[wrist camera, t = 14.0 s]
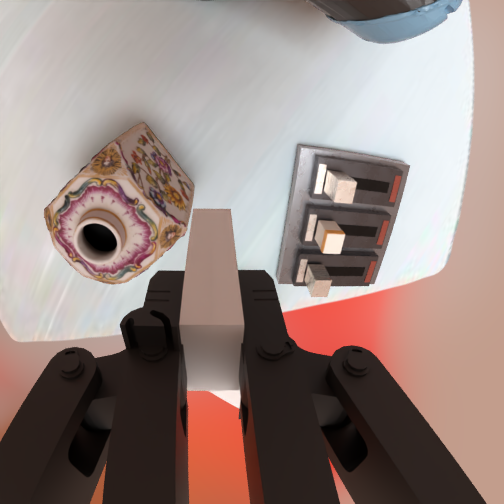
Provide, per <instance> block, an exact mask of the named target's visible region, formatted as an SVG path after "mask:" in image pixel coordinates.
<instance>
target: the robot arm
mask: <svg viewBox="0 0 504 504" xmlns="http://www.w3.org/2000/svg"><path fill="white" fill-rule="evenodd" d="M305 1H307V2H308V3H310V4H312V5H313V6H315V7H316V8H318V9H319V10H321V11H322V12H324V13H325V14H326V17H327V18H329V19H330V20H332V21H333V22H336V23H338V24H341V25H343V26H344V27H346V28H347V29H349V30H350V31H351V32H353V33H354V34H356V35H357V36H359V37H360V38H362V39H364V40H366V41H370V42H374V43H379V44H389V43H397V42H401V41H405V40H408V39H411V38H414V37H416V36H419V35H421V34H423V33H425V32H427V31H429V30H431V29H433V28H435V27H436V26H438V25H439V24H441V23H442V22H444V21H445V20H446V19H447V14H449V13H452V12H455V11H456V10H457V9H458V7H459V6H460V5H461V3H462V0H305ZM120 328H121V331H122V335H123V339H124V342H125V346H126V349H125V350H123V351H121V352H119V353H116V354H113V355H108V356H104V357H98V358H94V356H93V355H92V353H91V352H89V351H87V350H86V349H84V348H78V347H72V348H67V349H64V350H62V351H61V352H59V353H57V354H56V355H55V356H54V357H53V358H52V359H51V360H50V362H49V363H48V365H47V366H46V368H45V369H44V371H43V372H42V374H41V376H40V377H39V378H38V380H37V382H36V383H35V385H34V386H33V388H32V389H31V391H30V393H29V394H28V396H27V397H26V399H25V401H24V402H23V404H22V405H21V407H20V409H19V410H18V412H17V414H16V415H15V417H14V419H13V420H12V422H11V424H10V426H9V427H8V429H7V431H6V433H5V434H4V436H3V438H2V440H1V442H0V504H90V501H91V498H92V496H93V493H94V491H95V488H96V486H97V484H98V481H99V478H100V476H101V474H102V471H103V468H104V466H105V464H106V472H105V481H104V491H103V503H102V504H189V484H188V404H187V390H189V391H190V390H191V391H194V390H195V391H227V390H239V386H240V396H241V398H240V409H239V410H240V411H239V419H241V424H242V433H243V443H244V452H245V462H246V471H247V480H248V487H249V497H250V504H340V502H339V498H338V494H337V490H336V486H335V482H334V478H333V474H332V470H331V466H330V463H329V459H330V461H331V463H332V465H333V466H334V468H335V470H336V472H337V473H338V475H339V477H340V478H341V480H342V482H343V484H344V485H345V487H346V489H347V491H348V492H349V494H350V495H351V497H352V499H353V501H354V502H355V504H486V502H485V501H484V499H483V498H482V497H481V495H480V494H479V492H478V491H477V489H476V488H475V487H474V485H473V484H472V482H471V481H470V480H469V478H468V477H467V476H466V474H465V473H464V471H463V470H462V469H461V467H460V466H459V464H458V463H457V462H456V460H455V459H454V457H453V456H452V455H451V453H450V452H449V451H448V450H447V448H446V447H445V445H444V444H443V443H442V441H441V440H440V439H439V437H438V436H437V435H436V433H435V432H434V431H433V429H432V428H431V427H430V425H429V424H428V423H427V421H426V420H425V419H424V417H423V416H422V415H421V413H420V412H419V411H418V409H417V408H416V407H415V405H414V404H413V403H412V402H411V400H410V399H409V398H408V397H407V395H406V394H405V393H404V391H403V390H402V389H401V387H400V386H399V385H398V384H397V382H396V381H395V380H394V378H393V377H392V376H391V375H390V373H389V372H388V371H387V370H386V368H385V367H384V366H383V364H382V363H381V362H380V361H379V359H378V358H377V357H376V356H375V355H374V354H373V353H372V352H370V351H369V350H366V349H364V348H362V347H358V346H344V347H341V348H340V349H338V350H336V351H335V352H334V354H333V355H332V356H327V355H321V354H316V353H311V352H308V351H305V350H303V349H301V348H299V347H298V346H297V344H296V343H295V341H294V340H293V339H291V338H290V337H289V335H288V333H287V329H286V325H285V322H284V318H283V314H282V310H281V307H280V303H279V301H278V295H277V292H276V288H275V284H274V281H273V279H272V278H271V276H270V275H269V274H268V273H267V272H266V271H265V270H238V269H237V260H236V252H235V243H234V235H233V226H232V217H231V209H193V215H192V222H191V229H190V236H189V244H188V251H187V259H186V267H185V271H158V272H157V273H156V274H155V275H154V276H153V277H152V278H151V279H150V282H149V286H148V290H147V294H146V298H145V302H144V306H143V307H142V308H139V309H136V310H133V311H131V312H130V313H129V314H127V315H126V316H125V317H124V318H123V320H122V321H121V323H120ZM328 458H329V459H328ZM106 461H107V463H106Z"/></svg>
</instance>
